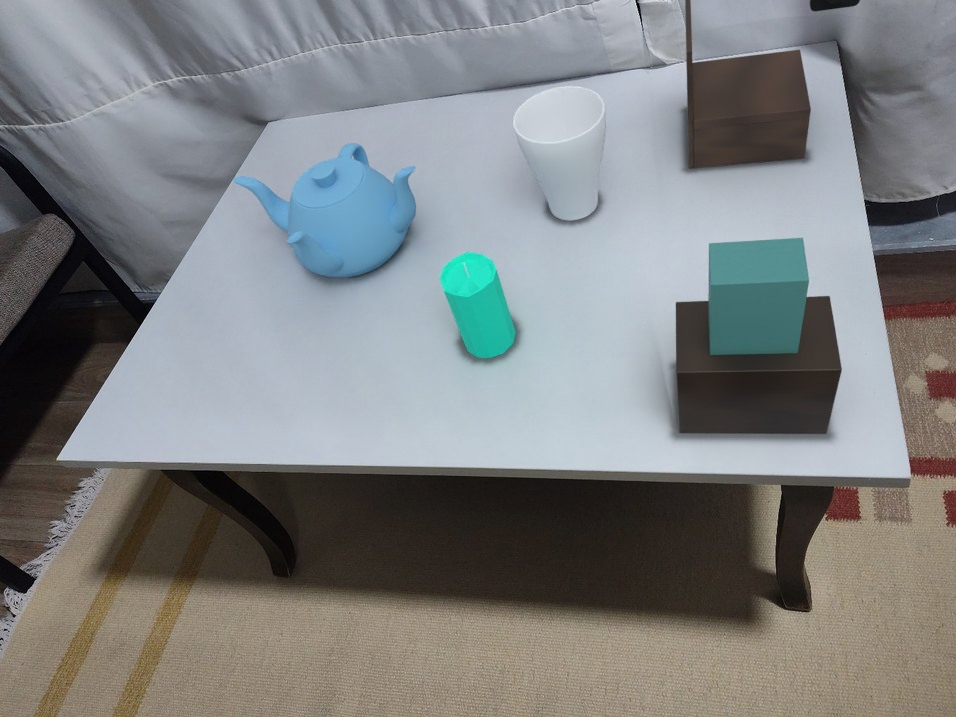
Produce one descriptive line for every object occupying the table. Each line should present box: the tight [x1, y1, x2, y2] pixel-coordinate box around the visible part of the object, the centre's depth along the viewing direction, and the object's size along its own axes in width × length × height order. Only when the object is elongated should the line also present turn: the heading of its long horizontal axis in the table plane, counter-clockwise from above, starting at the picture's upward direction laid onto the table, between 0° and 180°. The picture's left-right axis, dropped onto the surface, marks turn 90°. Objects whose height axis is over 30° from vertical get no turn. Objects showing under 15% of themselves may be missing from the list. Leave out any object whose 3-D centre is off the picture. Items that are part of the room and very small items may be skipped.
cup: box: [512, 85, 607, 221], centre depth 90 cm, size 10×10×14 cm
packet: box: [707, 237, 810, 355], centre depth 62 cm, size 7×4×9 cm, turn 81°
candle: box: [439, 251, 517, 359], centre depth 80 cm, size 6×6×12 cm
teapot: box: [233, 142, 417, 278], centre depth 96 cm, size 17×19×12 cm
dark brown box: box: [675, 295, 843, 435], centre depth 69 cm, size 13×8×10 cm, turn 81°
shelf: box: [684, 0, 812, 169], centre depth 90 cm, size 13×12×16 cm
